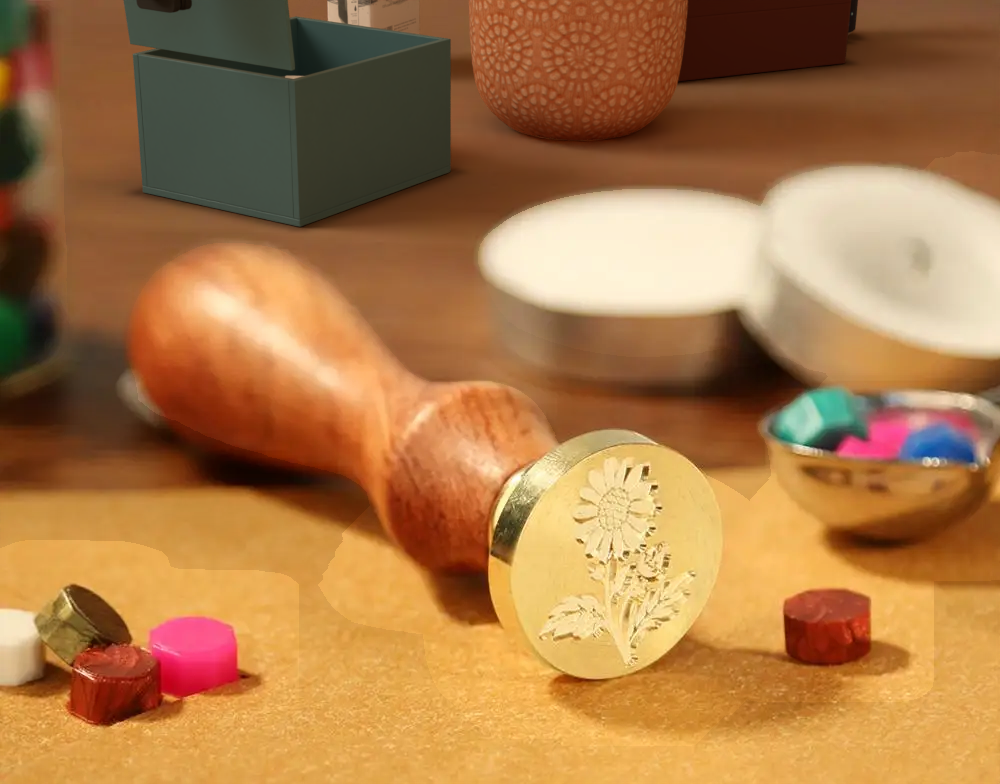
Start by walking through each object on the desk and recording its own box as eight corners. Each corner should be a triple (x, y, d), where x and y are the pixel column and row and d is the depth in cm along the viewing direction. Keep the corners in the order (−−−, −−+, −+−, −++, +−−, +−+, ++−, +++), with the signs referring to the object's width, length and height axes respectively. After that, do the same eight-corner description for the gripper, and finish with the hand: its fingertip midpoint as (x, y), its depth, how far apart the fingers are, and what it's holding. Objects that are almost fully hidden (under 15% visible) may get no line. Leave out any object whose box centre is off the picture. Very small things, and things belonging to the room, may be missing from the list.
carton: (299, 227, 119) (294, 80, 115) (142, 192, 126) (132, 53, 122) (450, 172, 132) (450, 38, 128) (300, 143, 139) (295, 16, 135)
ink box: (376, 57, 168) (374, -77, 163) (422, 63, 166) (422, -72, 161) (326, 74, 161) (322, -65, 156) (373, 80, 159) (371, -60, 154)
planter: (674, 103, 152) (683, -87, 146) (691, 156, 137) (703, -55, 130) (469, 101, 152) (470, -90, 146) (463, 153, 137) (464, -58, 130)
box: (744, 31, 181) (751, -74, 177) (848, 63, 168) (858, -50, 164) (561, 49, 172) (563, -61, 168) (655, 84, 159) (660, -35, 155)
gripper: (183, -318, 113) (201, -15, 121) (-2, -314, 102) (31, 20, 110) (276, -315, 110) (288, -2, 118) (95, -311, 98) (122, 35, 106)
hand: (164, 8), depth 114 cm, fingers closed
